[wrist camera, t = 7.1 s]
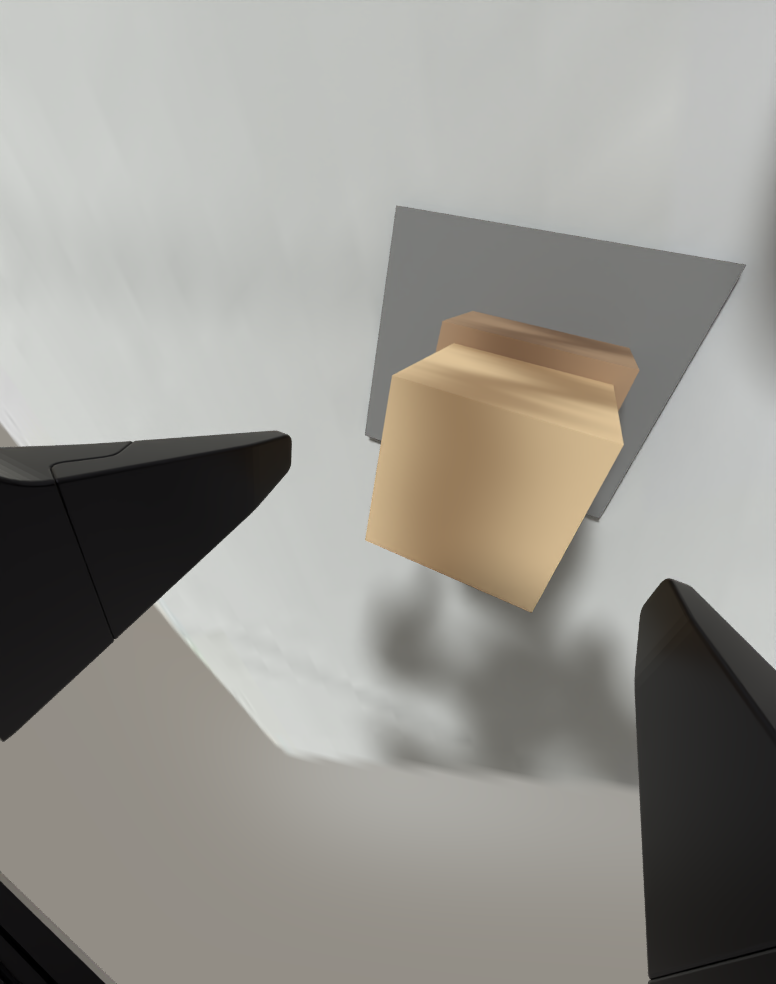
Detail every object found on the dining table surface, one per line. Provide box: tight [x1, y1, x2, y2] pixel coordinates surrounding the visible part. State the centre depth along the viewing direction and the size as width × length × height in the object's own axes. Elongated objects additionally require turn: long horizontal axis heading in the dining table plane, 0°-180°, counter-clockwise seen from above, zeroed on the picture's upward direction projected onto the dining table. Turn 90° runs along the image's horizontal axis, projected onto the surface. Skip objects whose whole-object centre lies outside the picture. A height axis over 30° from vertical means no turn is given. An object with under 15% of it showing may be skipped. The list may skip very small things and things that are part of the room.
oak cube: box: [365, 343, 624, 613], centre depth 12 cm, size 5×5×5 cm
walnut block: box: [436, 311, 639, 411], centre depth 15 cm, size 6×6×4 cm
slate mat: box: [365, 206, 746, 518], centre depth 17 cm, size 12×10×1 cm
